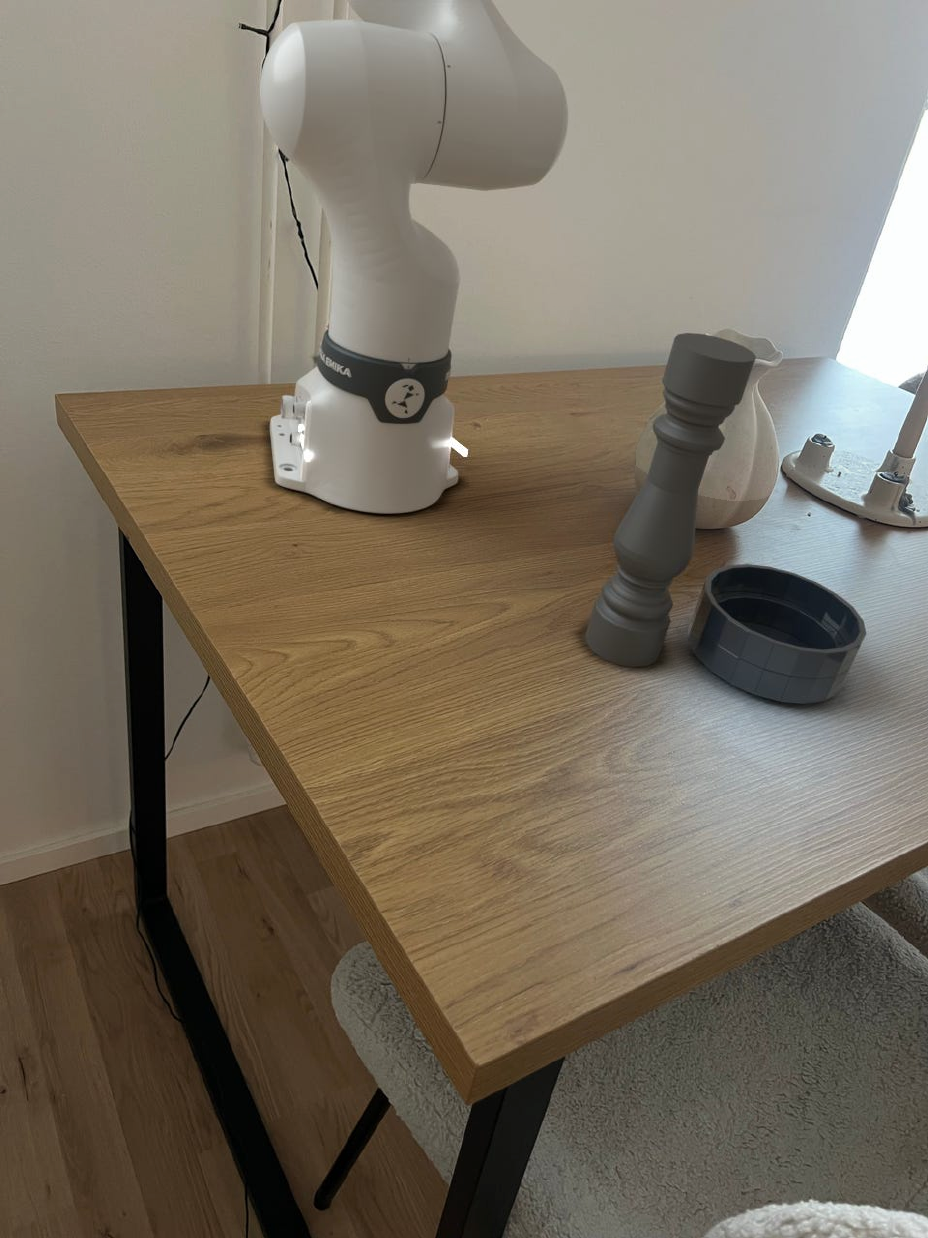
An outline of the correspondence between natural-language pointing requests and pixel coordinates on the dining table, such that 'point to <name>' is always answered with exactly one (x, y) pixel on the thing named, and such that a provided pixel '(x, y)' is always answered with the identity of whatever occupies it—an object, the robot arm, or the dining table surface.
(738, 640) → the bowl
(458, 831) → the dining table surface
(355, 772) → the dining table surface
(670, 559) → the candle holder
